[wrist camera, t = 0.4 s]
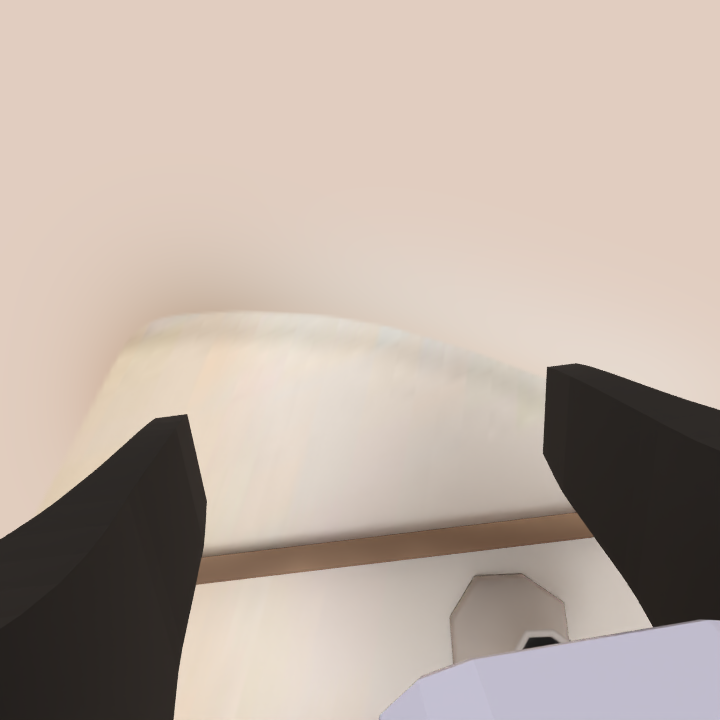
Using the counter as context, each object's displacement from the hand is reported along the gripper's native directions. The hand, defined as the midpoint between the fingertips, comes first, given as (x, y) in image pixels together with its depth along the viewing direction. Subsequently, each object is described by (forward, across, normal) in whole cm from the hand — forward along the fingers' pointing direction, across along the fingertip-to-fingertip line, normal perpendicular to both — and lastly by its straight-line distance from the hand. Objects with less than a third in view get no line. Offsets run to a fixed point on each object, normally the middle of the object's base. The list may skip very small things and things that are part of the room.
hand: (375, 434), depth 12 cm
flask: (+15, -9, +24) cm, 30 cm away
